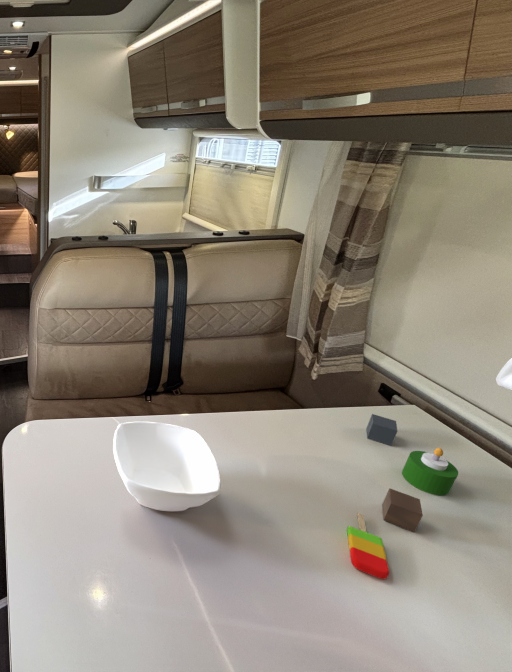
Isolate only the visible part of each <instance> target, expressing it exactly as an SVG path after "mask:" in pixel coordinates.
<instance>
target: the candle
mask: <svg viewBox="0 0 512 672" xmlns="http://www.w3.org/2000/svg"><path fill="white" fill-rule="evenodd" d="M442 456H444V450H443V448H441V447H436V448H435V449H434V451H433V453H432V452H428V451H423V450H413V451H411V452H410V453H409V454H408V457H407V459H406V461H405V464H404V466H403V468H402V471H401V475H402V478H404V480H405V481H407V483H408V484H409V485H411V486H413V487H415V488H416V489H418V490H420V491H422V492H424V493H426V494H430V495H434V496H441V497H443V496H447V495H449V493H450V492H451V490H452V488H453V486H454V484H455V481H456V480H457V478H458V476H459V470H458V469H457V467H456V466H455V465H454V464H453V463H451V462H450V461H449V460H447V459H446V458H444V457H442Z"/></svg>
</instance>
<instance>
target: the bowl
mask: <svg viewBox="0 0 512 672" xmlns="http://www.w3.org/2000/svg"><path fill="white" fill-rule="evenodd" d="M112 443H113V444H112V452H113V458H114V462H115V465H116V468H117V472H118V474H119V476H120V478H121V480H122V481H123V484H124V487H125V488H126V490H127V491H128V493H129V494H130V496H132V497H133V498H135V500H136V502H137V503H138V504H139V505H141V506H143V507H146V508H149V509H152V510H156V511H162V512H183V511H186V510H187V509H189V508H196V507H201V506H203V505H205V504H206V503H208V502H209V501H211V500H212V499H214V498H216V497H217V496H219V494H220V492H221V487H222V481H221V475H220V469H219V466H218V462H217V460H216V458H215V456H214V454H213V451H212V450H211V448H210V446H209V444H208V443H207V441H206V440H205V439H204V438H203V437H202V436H201V434H200V433H199V432H198V431H196V430H195V429H194V430H193V429H191V428H188V427H185V426H182V425H181V426H180V425H176V424H170V423H165V422H164V423H163V422H157V421H142V420H141V421H126V422H120V423H119V424H118V425H117V427H116V429H115V431H114V434H113V441H112Z"/></svg>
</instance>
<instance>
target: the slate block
mask: <svg viewBox="0 0 512 672" xmlns="http://www.w3.org/2000/svg"><path fill="white" fill-rule="evenodd" d="M397 434H398V426H397V420H394V419H391V418H387V417H384V416H381V415H378V414H375V413H371V415H370V418H369V420H368V424H367V426H366V439H367V440H371V441H374V442H376V443H380V444H382V445H387V446H390V447H392V445H393V443H394V440H395V439H396V437H397Z"/></svg>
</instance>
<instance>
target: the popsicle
mask: <svg viewBox="0 0 512 672" xmlns="http://www.w3.org/2000/svg"><path fill="white" fill-rule="evenodd" d="M357 520H358V527H359V529H358V528H356V527H353V526H350V525H348V526H347V528H346V534H347V541H348V548H349V556H350V562H351V564H352V565H353V567H354V568H356V569H357V570H359V571H360V572H362V573H366V574H368V575H370V576H373V577H376V578H378V579H381V580H385V579H387V578H388V577H389V575H390V569H389V564H388V560H387V556H386V551H385V547H384V541H383V538H382V537H380V536H378V535H375V534H373V533H369V532H367V527H366V523H365V517H364V515H363V514H362V513H360V512H358V513H357Z"/></svg>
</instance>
